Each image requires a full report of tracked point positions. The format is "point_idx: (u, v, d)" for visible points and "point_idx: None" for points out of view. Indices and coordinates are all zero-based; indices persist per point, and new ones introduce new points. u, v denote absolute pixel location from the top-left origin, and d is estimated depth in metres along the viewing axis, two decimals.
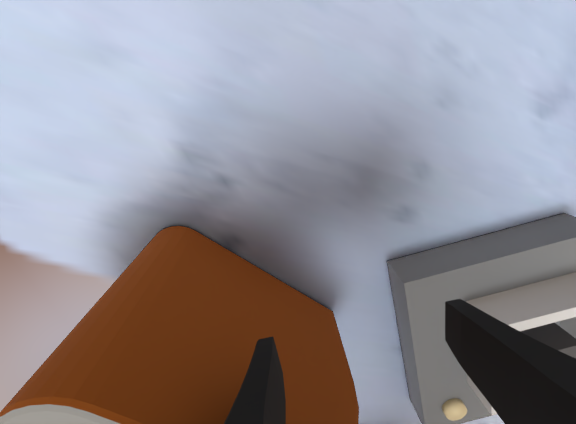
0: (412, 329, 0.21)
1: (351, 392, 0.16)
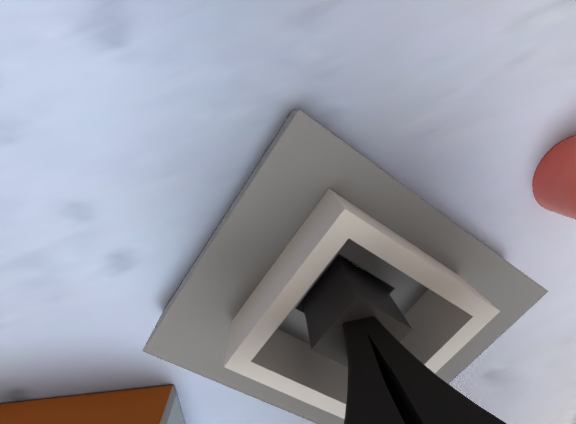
0: (216, 379, 0.16)
1: None
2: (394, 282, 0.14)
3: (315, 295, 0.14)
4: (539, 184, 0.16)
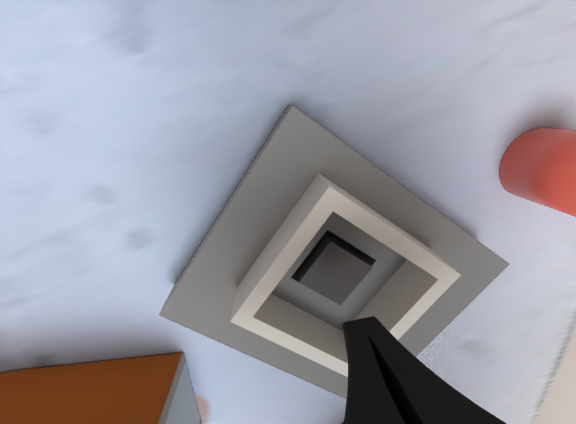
0: (222, 341, 0.18)
1: None
2: (375, 255, 0.16)
3: None
4: (504, 171, 0.18)
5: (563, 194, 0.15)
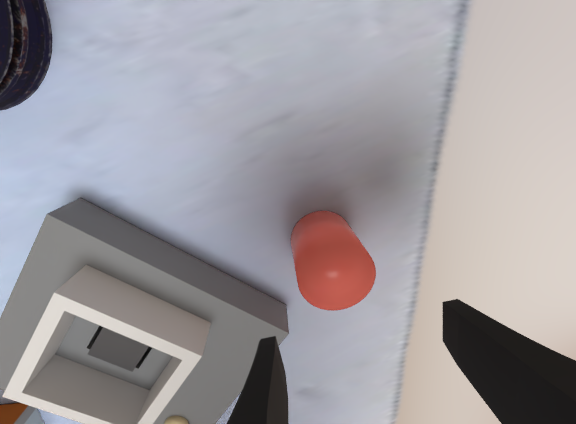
0: None
1: None
2: None
3: None
4: None
5: None
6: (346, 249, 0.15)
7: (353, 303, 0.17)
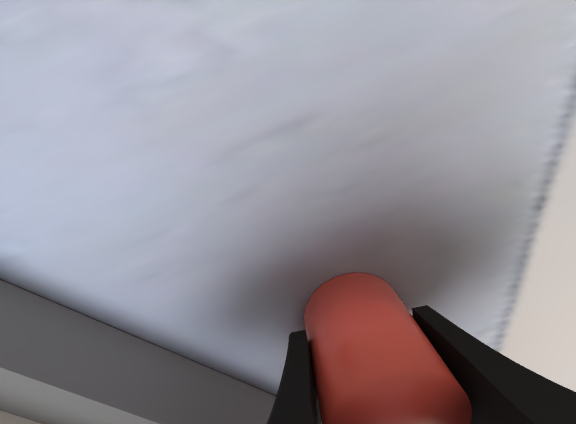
0: None
1: None
2: None
3: None
4: None
5: None
6: (421, 384, 0.08)
7: None
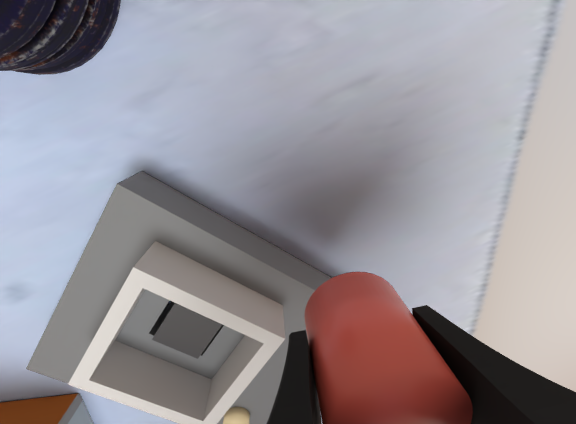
0: None
1: None
2: None
3: None
4: (306, 330, 0.13)
5: None
6: (422, 383, 0.08)
7: None
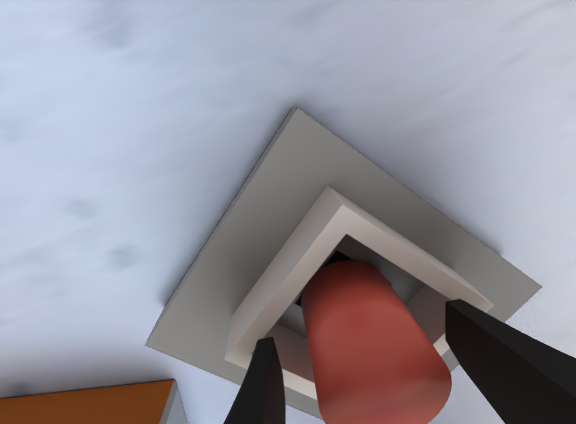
0: (217, 373, 0.16)
1: None
2: (391, 277, 0.14)
3: None
4: None
5: None
6: (405, 354, 0.09)
7: None
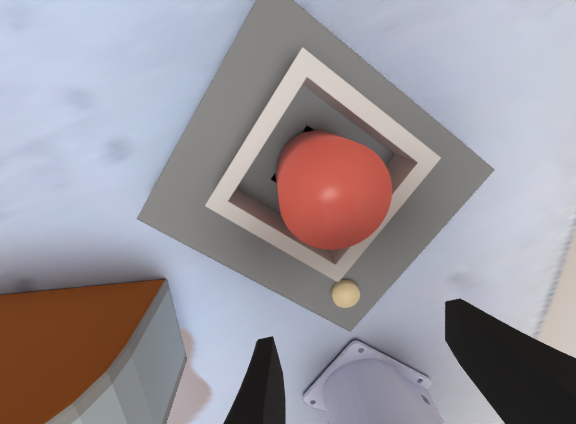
0: (202, 251, 0.18)
1: (105, 359, 0.14)
2: None
3: None
4: None
5: None
6: (350, 152, 0.10)
7: (359, 239, 0.12)
